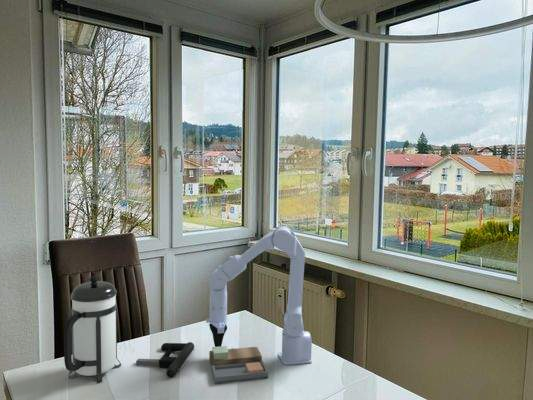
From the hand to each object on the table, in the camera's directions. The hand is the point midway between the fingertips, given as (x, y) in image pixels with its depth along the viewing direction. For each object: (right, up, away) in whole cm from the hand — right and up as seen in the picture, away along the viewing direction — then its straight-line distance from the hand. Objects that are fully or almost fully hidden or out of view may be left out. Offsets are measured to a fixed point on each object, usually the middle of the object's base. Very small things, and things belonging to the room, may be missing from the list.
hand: (217, 345), depth 136 cm
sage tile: (+1, -1, -6) cm, 6 cm away
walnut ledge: (+6, -4, -4) cm, 8 cm away
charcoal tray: (+8, -5, -11) cm, 15 cm away
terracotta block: (+13, -2, -11) cm, 17 cm away
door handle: (-17, -4, -3) cm, 18 cm away
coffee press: (-36, -4, -13) cm, 38 cm away
